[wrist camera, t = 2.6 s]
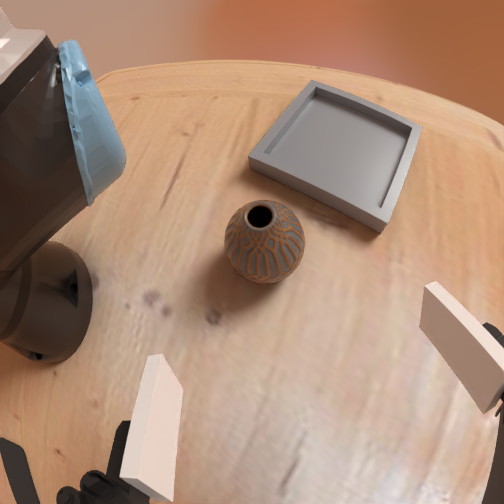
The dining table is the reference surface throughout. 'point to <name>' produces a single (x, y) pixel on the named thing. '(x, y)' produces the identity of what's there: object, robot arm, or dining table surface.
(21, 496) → the phone
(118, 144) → the robot arm
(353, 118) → the tray
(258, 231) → the vase
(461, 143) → the dining table surface
